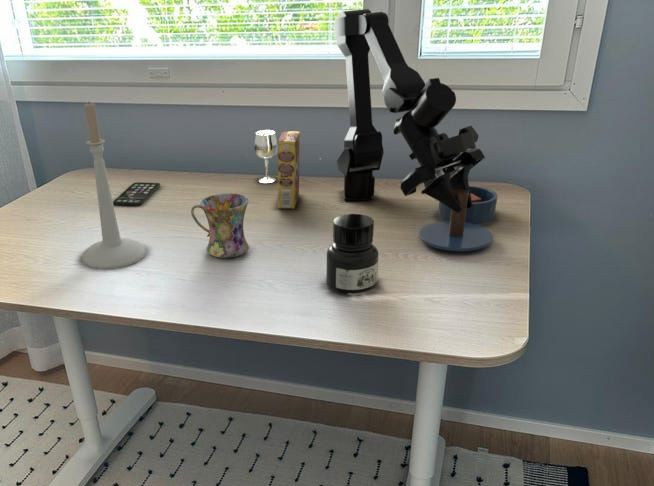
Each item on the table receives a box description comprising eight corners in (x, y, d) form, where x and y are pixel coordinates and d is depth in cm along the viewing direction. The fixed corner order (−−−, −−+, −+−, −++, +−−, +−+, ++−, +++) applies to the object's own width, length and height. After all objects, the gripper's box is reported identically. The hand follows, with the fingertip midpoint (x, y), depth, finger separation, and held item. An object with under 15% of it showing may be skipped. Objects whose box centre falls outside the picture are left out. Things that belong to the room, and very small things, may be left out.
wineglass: (279, 176, 177) (277, 129, 171) (277, 183, 172) (276, 135, 166) (256, 177, 178) (254, 130, 171) (255, 184, 173) (252, 136, 167)
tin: (443, 227, 142) (445, 204, 139) (434, 208, 152) (436, 186, 149) (499, 226, 141) (503, 203, 138) (487, 207, 151) (490, 184, 148)
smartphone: (111, 202, 165) (134, 182, 177) (112, 205, 165) (134, 184, 177) (140, 203, 163) (161, 182, 175) (140, 206, 164) (161, 185, 176)
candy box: (296, 209, 156) (295, 141, 148) (277, 209, 157) (275, 141, 149) (300, 196, 163) (300, 130, 155) (282, 196, 164) (281, 131, 156)
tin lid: (424, 254, 129) (429, 205, 123) (414, 227, 140) (418, 180, 135) (499, 253, 127) (508, 203, 122) (483, 225, 139) (490, 179, 134)
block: (462, 219, 144) (464, 201, 142) (452, 213, 147) (454, 195, 145) (479, 217, 145) (481, 198, 143) (469, 211, 148) (471, 193, 146)
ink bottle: (340, 301, 117) (342, 235, 111) (315, 281, 124) (315, 218, 118) (388, 288, 120) (392, 223, 114) (361, 269, 127) (364, 207, 121)
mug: (257, 245, 139) (255, 195, 134) (240, 264, 132) (237, 211, 127) (204, 239, 144) (200, 190, 138) (185, 257, 136) (179, 206, 131)
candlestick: (147, 264, 135) (125, 105, 119) (81, 272, 133) (50, 112, 117) (144, 240, 145) (123, 91, 129) (83, 247, 144) (55, 97, 128)
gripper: (418, 123, 119) (463, 199, 118) (483, 104, 129) (525, 174, 127) (381, 159, 129) (423, 230, 127) (444, 139, 138) (483, 205, 137)
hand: (465, 209), depth 129 cm, fingers closed on tin lid, 3 cm apart
